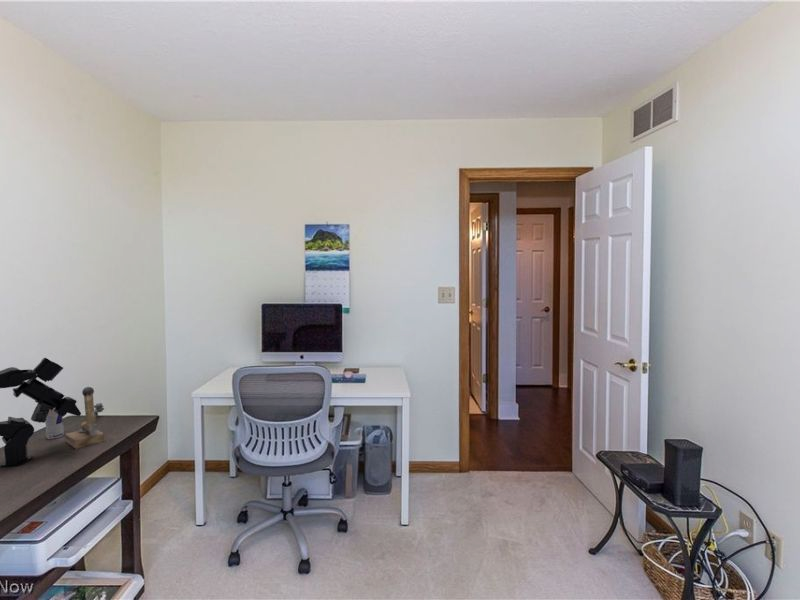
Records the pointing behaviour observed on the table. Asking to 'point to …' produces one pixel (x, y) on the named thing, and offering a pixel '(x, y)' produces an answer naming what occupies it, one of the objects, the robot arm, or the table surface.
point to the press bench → (84, 436)
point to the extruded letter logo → (98, 410)
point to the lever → (89, 406)
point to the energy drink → (54, 425)
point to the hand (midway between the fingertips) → (80, 414)
